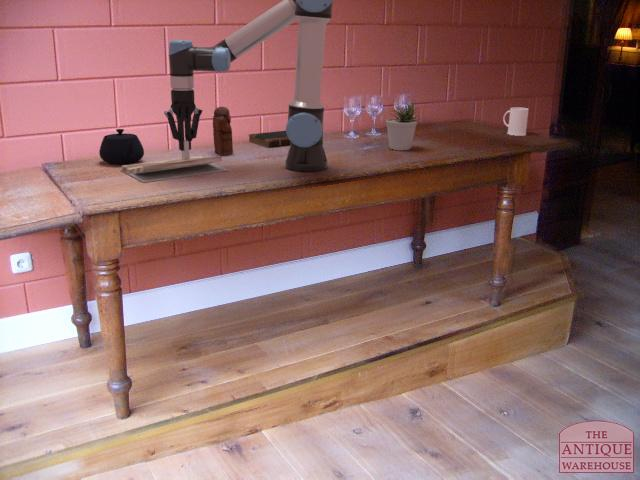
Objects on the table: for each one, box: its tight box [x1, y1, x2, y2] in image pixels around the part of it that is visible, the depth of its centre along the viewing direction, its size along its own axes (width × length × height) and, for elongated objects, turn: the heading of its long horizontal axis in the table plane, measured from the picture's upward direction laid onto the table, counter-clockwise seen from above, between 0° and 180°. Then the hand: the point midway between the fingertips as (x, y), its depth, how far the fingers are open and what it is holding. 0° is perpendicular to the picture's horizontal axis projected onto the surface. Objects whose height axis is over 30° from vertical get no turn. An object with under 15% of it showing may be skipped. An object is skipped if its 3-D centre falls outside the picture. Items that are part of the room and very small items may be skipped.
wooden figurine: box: [212, 106, 234, 157], centre depth 256 cm, size 12×6×18 cm, turn 25°
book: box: [248, 130, 290, 149], centre depth 282 cm, size 17×4×25 cm
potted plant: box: [385, 100, 420, 152], centre depth 268 cm, size 13×14×20 cm
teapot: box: [98, 128, 145, 166], centre depth 238 cm, size 25×16×12 cm, turn 34°
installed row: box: [121, 155, 206, 174], centre depth 234 cm, size 7×30×1 cm, turn 126°
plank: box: [133, 156, 223, 173], centre depth 226 cm, size 11×28×2 cm, turn 126°
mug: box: [502, 106, 529, 137], centre depth 307 cm, size 12×8×12 cm
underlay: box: [120, 163, 229, 184], centre depth 229 cm, size 20×31×1 cm, turn 126°
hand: (185, 159), depth 224 cm, fingers closed
